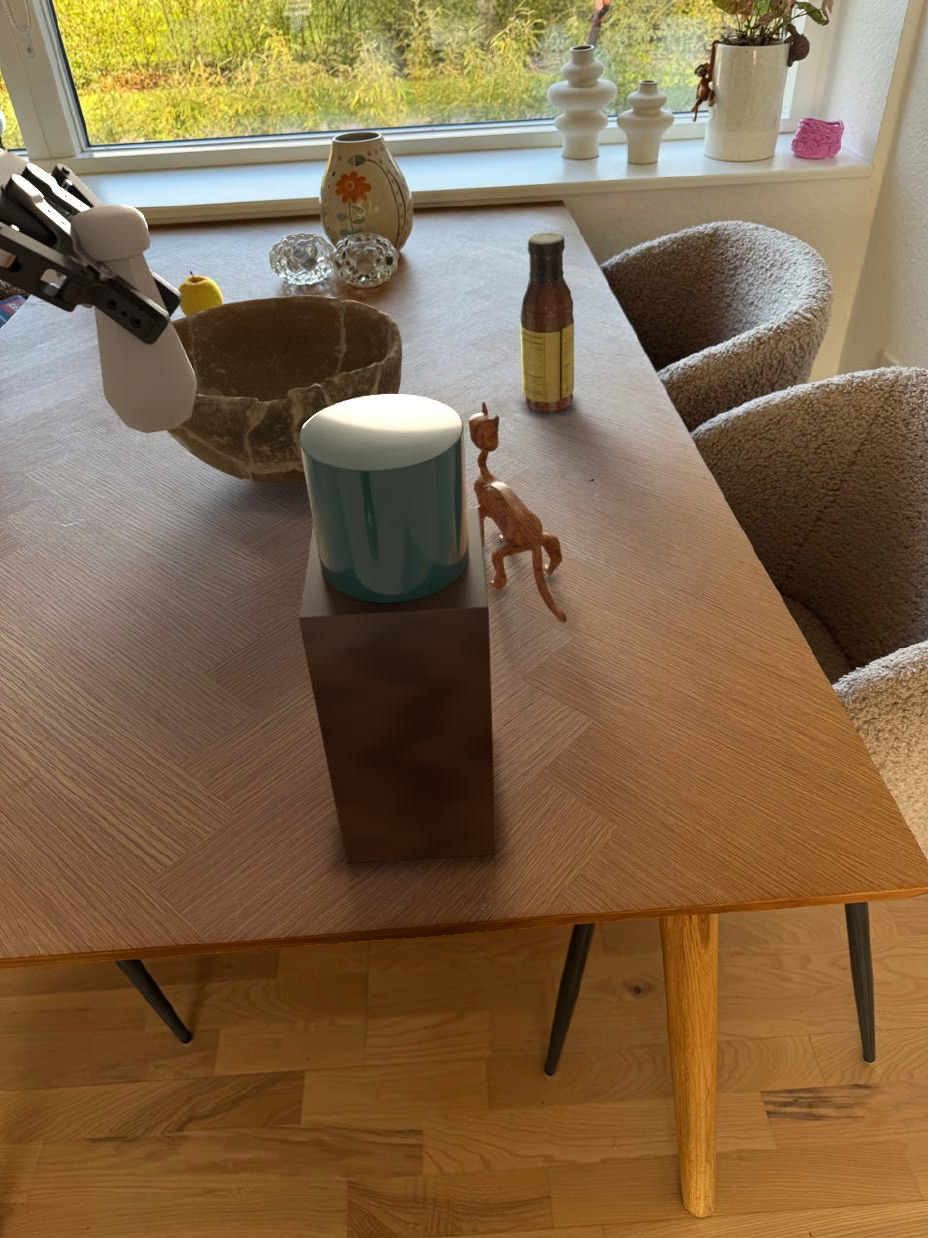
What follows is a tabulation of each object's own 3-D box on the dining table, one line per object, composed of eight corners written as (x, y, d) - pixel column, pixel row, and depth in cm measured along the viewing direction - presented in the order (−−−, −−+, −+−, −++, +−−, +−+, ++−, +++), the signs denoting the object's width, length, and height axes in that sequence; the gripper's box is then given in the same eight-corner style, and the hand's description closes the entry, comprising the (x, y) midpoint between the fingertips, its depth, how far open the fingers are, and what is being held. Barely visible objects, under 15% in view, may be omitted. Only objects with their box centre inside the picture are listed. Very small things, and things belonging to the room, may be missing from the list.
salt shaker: (136, 397, 63) (81, 195, 55) (216, 400, 63) (171, 195, 55) (98, 437, 59) (32, 224, 51) (184, 440, 58) (130, 224, 50)
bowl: (149, 550, 92) (106, 412, 82) (174, 426, 112) (142, 305, 103) (425, 518, 94) (414, 380, 85) (400, 403, 115) (389, 282, 105)
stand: (346, 863, 61) (298, 618, 48) (354, 752, 69) (314, 515, 56) (496, 855, 61) (488, 607, 48) (487, 745, 69) (478, 505, 56)
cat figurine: (598, 622, 80) (607, 484, 71) (530, 644, 78) (531, 505, 69) (507, 521, 93) (506, 395, 84) (447, 538, 91) (440, 410, 82)
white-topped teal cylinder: (472, 598, 49) (466, 465, 44) (314, 608, 49) (290, 475, 44) (464, 491, 57) (458, 369, 52) (329, 498, 57) (310, 377, 52)
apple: (195, 318, 141) (183, 264, 136) (234, 319, 140) (224, 265, 135) (177, 334, 136) (164, 279, 131) (217, 335, 135) (206, 280, 130)
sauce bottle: (558, 388, 116) (562, 223, 104) (582, 408, 112) (590, 238, 99) (511, 399, 115) (510, 233, 102) (534, 420, 110) (535, 248, 98)
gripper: (-152, 66, 42) (179, 318, 50) (-34, 29, 53) (221, 240, 61) (-212, 197, 45) (107, 414, 53) (-89, 136, 56) (160, 323, 64)
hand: (167, 320), depth 57 cm, fingers closed on salt shaker, 3 cm apart
